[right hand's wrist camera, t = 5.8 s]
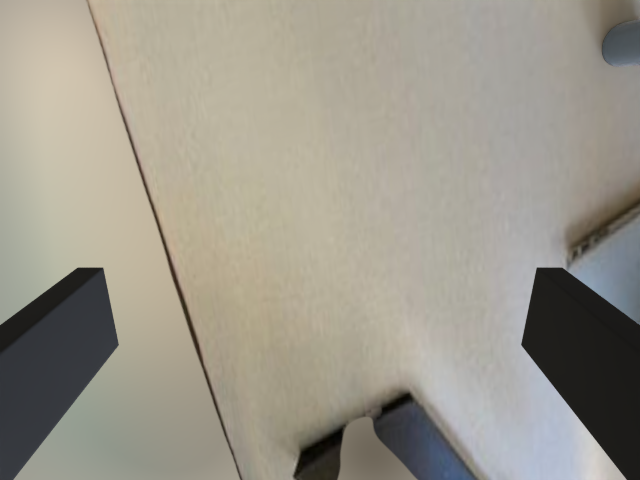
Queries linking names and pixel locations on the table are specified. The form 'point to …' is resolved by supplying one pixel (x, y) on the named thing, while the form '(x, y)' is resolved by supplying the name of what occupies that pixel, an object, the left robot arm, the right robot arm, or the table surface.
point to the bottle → (623, 44)
